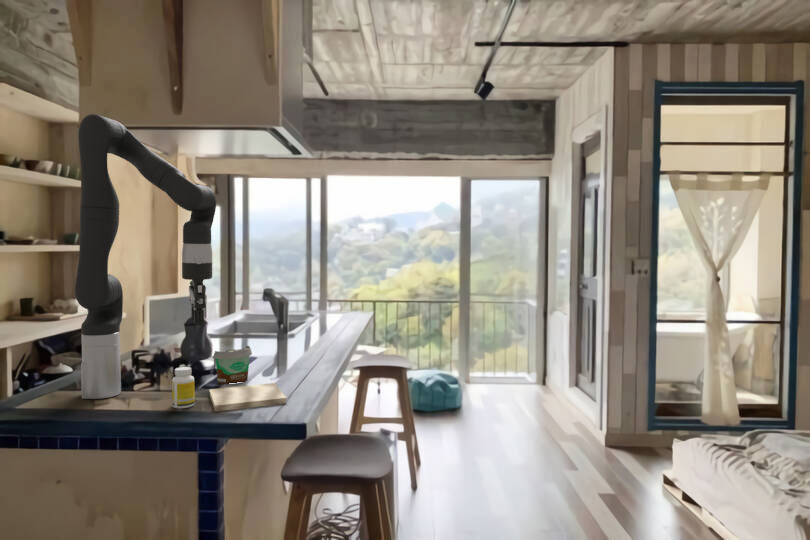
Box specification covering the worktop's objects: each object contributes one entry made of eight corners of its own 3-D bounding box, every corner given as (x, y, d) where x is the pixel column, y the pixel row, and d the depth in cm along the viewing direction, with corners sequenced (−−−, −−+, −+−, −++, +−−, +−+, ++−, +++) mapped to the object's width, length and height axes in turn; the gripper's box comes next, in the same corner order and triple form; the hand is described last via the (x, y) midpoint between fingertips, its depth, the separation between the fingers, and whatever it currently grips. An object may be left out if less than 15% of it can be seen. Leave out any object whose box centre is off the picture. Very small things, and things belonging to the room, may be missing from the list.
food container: (226, 388, 162) (225, 354, 161) (213, 384, 166) (213, 351, 165) (260, 379, 172) (260, 347, 171) (247, 376, 175) (247, 345, 175)
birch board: (215, 411, 140) (215, 405, 140) (209, 394, 155) (209, 389, 155) (286, 403, 148) (286, 397, 148) (274, 388, 162) (274, 383, 162)
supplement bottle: (199, 404, 146) (198, 367, 146) (183, 410, 141) (182, 372, 141) (184, 401, 148) (183, 365, 148) (167, 407, 144) (166, 369, 143)
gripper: (180, 259, 152) (180, 318, 153) (184, 262, 139) (184, 326, 140) (209, 259, 155) (209, 317, 156) (215, 262, 142) (215, 325, 143)
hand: (197, 322), depth 148 cm, fingers open, 8 cm apart
